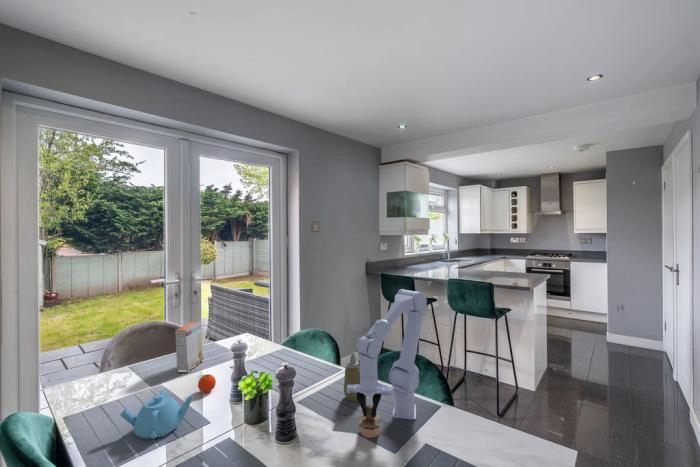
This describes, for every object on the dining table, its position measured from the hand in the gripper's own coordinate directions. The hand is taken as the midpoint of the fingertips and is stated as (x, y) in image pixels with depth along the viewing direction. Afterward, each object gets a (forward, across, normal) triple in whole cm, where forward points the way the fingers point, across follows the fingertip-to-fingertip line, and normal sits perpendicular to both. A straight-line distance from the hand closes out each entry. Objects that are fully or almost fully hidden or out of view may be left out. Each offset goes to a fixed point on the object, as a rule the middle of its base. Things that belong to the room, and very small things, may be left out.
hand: (369, 415), depth 107 cm
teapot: (+6, -72, -10) cm, 73 cm away
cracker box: (+6, -96, +38) cm, 104 cm away
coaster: (+6, -8, +3) cm, 10 cm away
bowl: (+6, 0, 0) cm, 6 cm away
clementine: (+6, -72, +16) cm, 75 cm away
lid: (+2, 0, 0) cm, 2 cm away
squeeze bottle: (+6, -10, +20) cm, 23 cm away
